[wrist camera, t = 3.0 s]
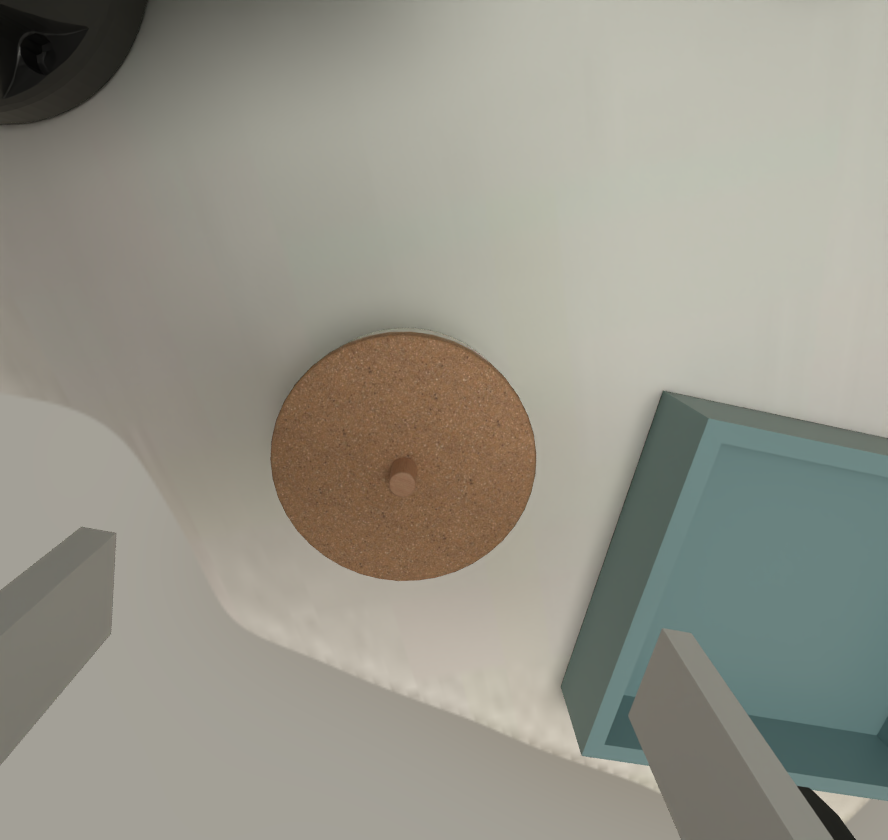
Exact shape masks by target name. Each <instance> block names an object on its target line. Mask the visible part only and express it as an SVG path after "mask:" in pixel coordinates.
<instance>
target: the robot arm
mask: <svg viewBox="0 0 888 840" xmlns="http://www.w3.org/2000/svg"><path fill="white" fill-rule="evenodd" d="M146 2H147V0H0V124H17V123H27V122H34V121H38V120H43V119H46V118H49V117H53V116H56V115H58V114H61V113H63V112H65V111H68V110H69V109H71V108H73V107H75V106H77V105H79V104H80V103H82V102H83V101H85V100H86V99H88V98H89V97H90V96H91V95H93V94H94V93H95V92H96V91H98V90H99V89H100V88H101V87H102V86H103V85H104V84H105V83H106V82H107V81H108V80H109V78H110V77H111V76H112V75H113V74H114V73H115V71H116V70H117V69H118V67H119V66H120V64H121V63H122V62H123V60H124V58H125V57H126V55H127V53H128V51H129V50H130V48H131V46H132V43H133V41H134V39H135V37H136V35H137V32H138V29H139V27H140V24H141V21H142V18H143V14H144V11H145V6H146ZM115 548H116V533H114V532H108V531H102V530H96V529H91V528H85V527H81V528H79V529H78V530H77V531H75V532H74V533H73V534H72V535H70V536H69V537H68V538H67V539H65V540H64V541H63V542H62V543H60V544H59V545H58V546H56V547H55V548H54V549H52V551H50V552H49V553H47V554H46V555H45V556H44V557H42V558H41V559H40V560H38V561H37V562H36V563H35V564H33V565H32V566H31V567H29V568H28V569H27V570H26V571H24V572H23V573H22V574H21V575H19V576H18V577H17V578H16V579H14V580H13V581H12V582H10V583H9V584H8V585H7V586H5V587H4V588H3V589H1V590H0V765H1V764H2V763H3V762H4V760H5V759H6V758H7V757H8V756H9V754H10V753H11V752H12V751H13V750H14V748H15V747H16V746H17V745H18V743H20V741H21V740H22V739H23V738H24V737H25V735H26V734H27V733H28V732H29V731H30V729H31V728H32V727H33V726H34V724H36V722H37V721H38V720H39V719H40V717H41V716H42V715H43V714H44V713H45V712H46V710H47V709H48V708H49V707H50V706H51V705H52V703H53V702H54V701H55V699H57V697H58V696H59V695H60V694H61V693H62V691H63V690H64V689H65V688H66V686H67V685H68V684H69V683H70V682H71V681H72V680H73V678H74V677H75V676H76V674H77V673H78V672H79V671H80V670H81V669H82V668H83V666H84V665H85V664H86V663H87V662H88V660H89V659H90V658H91V657H92V656H93V655H94V653H95V652H96V651H97V650H98V649H99V647H100V646H101V645H102V644H103V643H104V641H105V640H106V639H107V638H108V637H109V635H110V634H111V626H112V606H113V587H114V567H115ZM628 717H629V719H630V721H631V724H632V726H633V728H634V731H635V733H636V735H637V738H638V740H639V742H640V745H641V747H642V749H643V752H644V754H645V756H646V759H647V761H648V763H649V766H650V768H651V770H652V773H653V775H654V777H655V780H656V782H657V784H658V787H659V789H660V791H661V794H662V796H663V798H664V801H665V803H666V805H667V808H668V810H669V812H670V815H671V817H672V819H673V822H674V824H675V826H676V829H677V831H678V833H679V836H680V838H681V840H856V839H855V838H854V836H853V835H852V834H851V833H850V831H849V830H848V828H847V827H846V825H845V824H844V823H843V821H842V820H841V819H840V817H839V816H838V815H837V814H836V813H835V812H834V811H833V810H832V809H831V808H830V807H829V806H828V805H827V804H826V803H825V802H824V801H823V800H822V799H821V798H820V797H819V796H818V795H817V794H815V793H814V792H813V791H812V790H811V789H810V788H808V787H802V786H796V784H795V783H794V781H793V780H792V778H791V777H790V776H789V774H788V773H787V771H786V770H785V768H784V767H783V765H782V764H781V762H780V761H779V760H778V758H777V757H776V755H775V754H774V752H773V751H772V749H771V748H770V747H769V745H768V744H767V742H766V741H765V739H764V738H763V736H762V735H761V733H760V732H759V731H758V729H757V728H756V726H755V725H754V723H753V722H752V720H751V719H750V718H749V716H748V715H747V713H746V712H745V710H744V709H743V707H742V706H741V704H740V703H739V702H738V700H737V699H736V697H735V696H734V694H733V693H732V691H731V690H730V688H729V687H728V686H727V684H726V683H725V681H724V680H723V678H722V677H721V675H720V674H719V673H718V671H717V670H716V668H715V667H714V665H713V664H712V662H711V661H710V659H709V658H708V657H707V655H706V654H705V652H704V651H703V649H702V648H701V646H700V645H699V644H698V642H697V641H696V639H695V638H694V636H693V635H692V633H688V632H682V631H676V630H671V629H665V628H662V630H661V633H660V635H659V638H658V640H657V643H656V645H655V648H654V650H653V653H652V656H651V658H650V661H649V663H648V666H647V668H646V671H645V674H644V676H643V679H642V681H641V684H640V686H639V689H638V691H637V694H636V697H635V699H634V702H633V704H632V707H631V709H630V712H629V715H628Z"/></svg>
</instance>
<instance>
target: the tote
mask: <svg viewBox="0 0 888 840" xmlns="http://www.w3.org/2000/svg"><path fill="white" fill-rule="evenodd" d="M662 628H665V629H671V630H676V631H682V632H688V633H692V635H693V636H694V638H695V639H696V641H697V642H698V644H699V645H700V646H701V648H702V649H703V651H704V652H705V654H706V655H707V657H708V658H709V659H710V661H711V662H712V664H713V665H714V667H715V668H716V670H717V671H718V673H719V674H720V675H721V677H722V678H723V680H724V681H725V683H726V684H727V686H728V687H729V688H730V690H731V691H732V693H733V694H734V696H735V697H736V699H737V700H738V702H739V703H740V704H741V706H742V707H743V709H744V710H745V712H746V713H747V715H748V716H749V718H750V719H751V720H752V722H753V723H754V725H755V726H756V728H757V729H758V731H759V732H760V733H761V735H762V736H763V738H764V739H765V741H766V742H767V744H768V745H769V747H770V748H771V749H772V751H773V752H774V754H775V755H776V757H777V758H778V760H779V761H780V762H781V764H782V765H783V767H784V768H785V770H786V771H787V773H788V774H789V776H790V777H791V778H792V780H793V781H794V783H795V784H796V786H802V787H808V788H810V789H811V790H817V791H823V792H830V793H837V794H844V795H851V796H857V797H864V798H871V799H878V800H885V801H888V438H884V437H879V436H874V435H869V434H865V433H860V432H855V431H851V430H846V429H841V428H836V427H832V426H827V425H822V424H818V423H813V422H808V421H804V420H799V419H794V418H789V417H785V416H780V415H775V414H771V413H766V412H761V411H757V410H752V409H747V408H742V407H738V406H733V405H728V404H724V403H719V402H714V401H709V400H705V399H700V398H695V397H691V396H686V395H681V394H677V393H672V392H667V391H663V393H662V396H661V399H660V402H659V405H658V407H657V410H656V413H655V416H654V419H653V422H652V425H651V428H650V431H649V433H648V436H647V439H646V442H645V445H644V448H643V451H642V454H641V457H640V459H639V462H638V465H637V468H636V471H635V474H634V477H633V480H632V483H631V485H630V488H629V491H628V494H627V497H626V500H625V503H624V506H623V509H622V512H621V514H620V517H619V520H618V523H617V526H616V529H615V532H614V535H613V538H612V540H611V543H610V546H609V549H608V552H607V555H606V558H605V561H604V564H603V566H602V569H601V572H600V575H599V578H598V581H597V584H596V587H595V590H594V592H593V595H592V598H591V601H590V604H589V607H588V610H587V613H586V616H585V618H584V621H583V624H582V627H581V630H580V633H579V636H578V639H577V642H576V645H575V647H574V650H573V653H572V656H571V659H570V662H569V665H568V668H567V671H566V673H565V676H564V679H563V682H562V685H561V689H562V692H563V695H564V699H565V702H566V705H567V709H568V712H569V715H570V719H571V722H572V725H573V729H574V732H575V735H576V739H577V742H578V745H579V749H580V752H581V755H582V756H586V757H593V758H600V759H607V760H614V761H620V762H627V763H634V764H641V765H647V766H649V763H648V761H647V759H646V756H645V754H644V752H643V749H642V747H641V745H640V742H639V740H638V738H637V735H636V733H635V731H634V728H633V726H632V724H631V721H630V719H629V717H628V715H629V712H630V709H631V707H632V704H633V702H634V699H635V697H636V694H637V691H638V689H639V686H640V684H641V681H642V679H643V676H644V674H645V671H646V668H647V666H648V663H649V661H650V658H651V656H652V653H653V650H654V648H655V645H656V643H657V640H658V638H659V635H660V633H661V630H662Z"/></svg>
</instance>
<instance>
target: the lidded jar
mask: <svg viewBox="0 0 888 840" xmlns="http://www.w3.org/2000/svg"><path fill="white" fill-rule="evenodd" d="M271 467H272V476H273V481H274V484H275V488H276V491H277V495H278V498H279V500H280V502H281V504H282V506H283V508H284V511H285V513H286V515H287V516H288V518H289V519H290V521H291V522H292V524H293V525H294V526H295V528H296V529H297V531H298V532H299V533H300V534H301V535H302V536H303V537H304V538H305V539H306V540H307V541H308V543H309V544H310V545H312V546H313V547H314V548H315V549H317V550H318V551H319V552H320V553H322V554H323V555H324V556H325V557H327V558H329V559H331V560H332V561H334V562H336V563H337V564H339V565H341V566H343V567H345V568H347V569H350V570H352V571H355V572H357V573H360V574H363V575H367V576H371V577H375V578H379V579H387V580H395V581H408V580H423V579H429V578H436V577H439V576H443V575H446V574H449V573H452V572H456V571H458V570H460V569H462V568H464V567H466V566H468V565H471V564H473V563H474V562H476V561H477V560H479V559H480V558H482V557H483V556H485V555H486V554H488V553H489V552H490V551H491V550H493V549H494V548H495V547H496V546H497V545H498V544H499V543H500V542H502V541H503V540H504V538H505V537H506V536H507V535H508V533H509V532H510V531H511V530H512V529H513V527H514V526H515V525H516V523H517V521H518V520H519V518H520V516H521V515H522V513H523V511H524V509H525V507H526V504H527V502H528V499H529V497H530V494H531V491H532V487H533V482H534V477H535V469H536V449H535V441H534V434H533V431H532V427H531V424H530V421H529V417H528V415H527V413H526V411H525V409H524V407H523V405H522V403H521V401H520V399H519V397H518V395H517V394H516V392H515V391H514V389H513V388H512V387H511V385H510V384H509V383H508V381H507V380H506V378H505V377H504V376H503V375H502V374H501V373H500V372H499V371H498V370H497V369H496V368H495V367H494V366H493V365H492V364H491V363H489V362H488V361H487V360H486V359H485V358H484V357H483V356H482V355H481V354H479V353H478V352H477V351H475V350H474V349H472V348H471V347H470V346H468V345H466V344H464V343H462V342H460V341H458V340H456V339H454V338H452V337H450V336H447V335H444V334H441V333H438V332H435V331H431V330H425V329H418V328H393V329H387V330H381V331H375V332H372V333H369V334H366V335H363V336H361V337H358V338H356V339H354V340H352V341H350V342H348V343H346V344H344V345H342V346H341V347H339V348H337V349H336V350H334V351H332V352H330V353H329V354H327V355H326V356H325V357H323V358H322V359H321V360H319V361H318V362H317V363H316V364H314V365H313V366H312V367H311V368H310V369H309V370H308V371H307V372H306V373H305V374H304V375H303V376H302V378H301V379H300V380H299V381H298V382H297V383H296V384H295V386H294V387H293V389H292V390H291V392H290V393H289V395H288V396H287V398H286V400H285V401H284V403H283V406H282V408H281V410H280V413H279V415H278V417H277V420H276V423H275V428H274V432H273V436H272V444H271Z"/></svg>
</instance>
